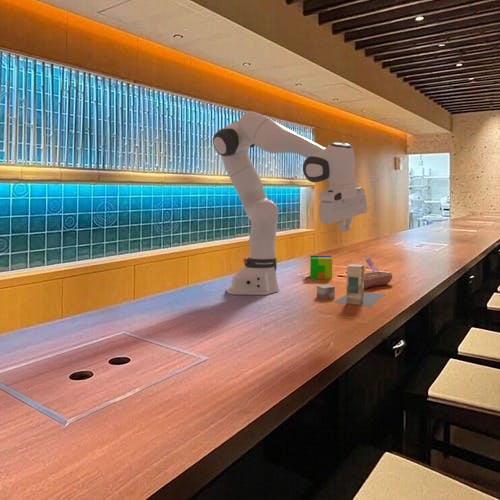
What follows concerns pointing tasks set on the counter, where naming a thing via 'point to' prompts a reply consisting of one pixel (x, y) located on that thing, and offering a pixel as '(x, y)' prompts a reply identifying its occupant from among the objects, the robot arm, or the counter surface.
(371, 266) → the lily
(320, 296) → the grey block
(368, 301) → the slate mat
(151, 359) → the counter surface
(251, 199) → the robot arm
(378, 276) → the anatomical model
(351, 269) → the maple block
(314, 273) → the puzzle toy
